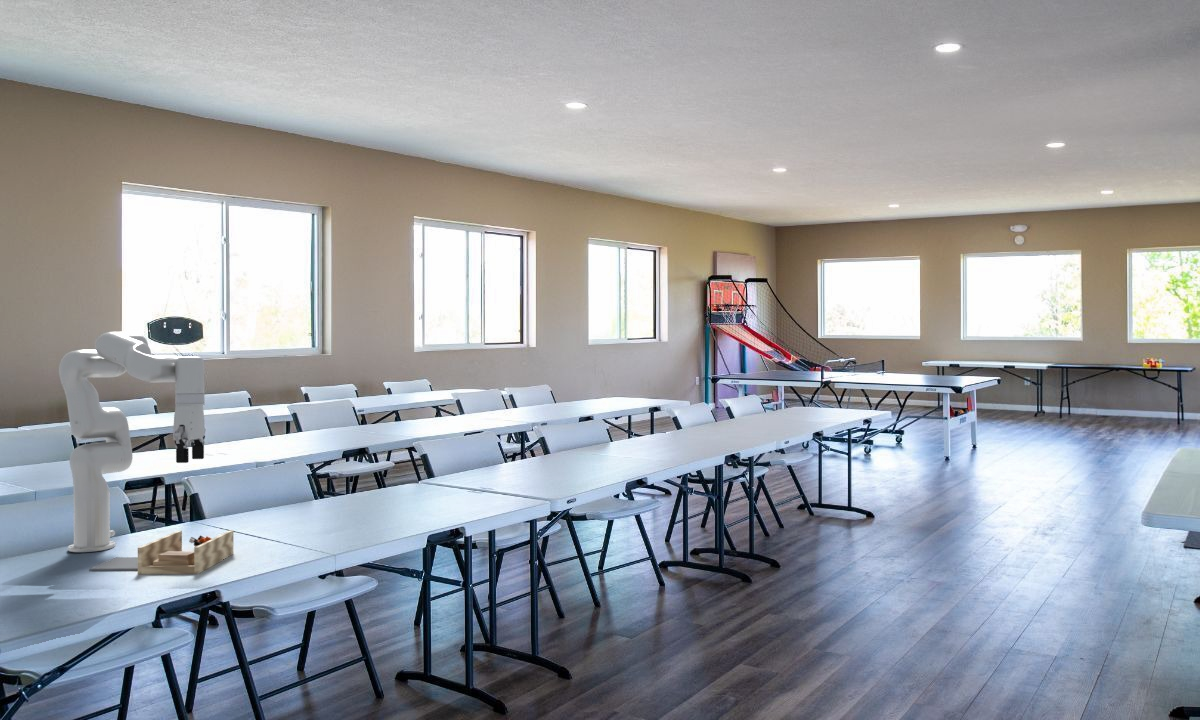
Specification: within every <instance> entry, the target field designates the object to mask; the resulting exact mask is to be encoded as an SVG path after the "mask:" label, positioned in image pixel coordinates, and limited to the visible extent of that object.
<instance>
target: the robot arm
mask: <svg viewBox="0 0 1200 720" xmlns="http://www.w3.org/2000/svg"><path fill="white" fill-rule="evenodd" d="M147 340H148V339H147V338H146V337H144V336H143V335H142V334H140V333H139V332H132V331H131V332H130V331H108V332H104V333H102V334H100V335H99V336H98V337H97V338H96V339H95V341H94V349H76V350H72V351H69V352H67V353H66V354H64V355H63V357H62V358H61V360H60V362H59V365H58V375H59V379H60V383H61V387H62V390H64V394H65V398H66V405H67V406H66V407H67V413H68V419H69V425H70V431H71V433H72V435H73V437H74V438H75V439H77V440H81V441H83V440H85V441H87V440H100V439H105V442H97V443H96V442H95V443H87V444H86V443H85V444H82V445H78V446H77V447H75V448H74V449H73V450H72V451H71V453H70V454H69V465H70V466H69V467H70V471H71V472H70V473H71V476H72V477H71V478H72V485H73V543H72V544H70V545H68V546H67V551H68V552H71V553H93V552H100V551H107V550H110V549H113V548H116V544H117V543H116V542H115V540H114V541H113V540H111V537H114V536H115V535H116V531H115V530H114V529H112V530H111V527H110V526H111V521H110V520H111V518H110V517H111V514H110V513H111V507H110V506H111V504H110V503H111V500H110V499H111V497H110V496H111V495H110V494H111V493H110V490H111V489H110V486H109V484H108V482H107V481H106V479H105V477H104V476H103V475H105V474H114V473H120V472H121V473H122V472H124V471H126V470H128V469H129V468H130V467H131V466H132V463H133V448H132V441H131V435H130V433H131V432H130V428H129V423H128V418H127V416H126V413H124V412H123V411H122V410H121V409H120V408H117V407H113V406H108V407H102V406H101V403H100V397H99V396H100V395H99V393H98V391H97V389H96V388H95V386H94V385H93V383H91V382H90V381H89V380H88V378H95V379H97V378H115V377H116V378H117V377H120V376H122V375H124V374H126V372H127V374H128V375H129V376H131V377H133V378H134V379H137V380H139V381H140V380H141V381H143V382H147V383H152V384H155V383H175V386H174V387H175V388H174V391H175V392H174V393H175V394H174V395H175V398H174V400H175V403H174V405H175V409H174V415H173V428H172V429H173V431H172V434H173V435H172V436H173V437H172V438H173V440H174V444H175V446H174V447H175V461H176V463H177V464H187V463H189V459H190V458H189V456H190V455H189V447H188V446H189V443H190V442H192V444H191V459H192V460H203V459H205V439H206V428H205V415H204V414H205V413H204V406H205V399H206V398H205V361H204V359H203V357H201V356H182V355H152V351H151V350H152V349H151V348H150V347H149V343H148V341H147Z"/></svg>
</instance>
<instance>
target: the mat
mask: <svg viewBox="0 0 1200 720" xmlns="http://www.w3.org/2000/svg"><path fill="white" fill-rule="evenodd" d="M88 571H89V572H105V571H106V572H115V571H117V572H118V571H120V572H123V571H125V572H126V571H127V572H130V571H131V572H133V571H134V572H138V556H133V557H131V556H130V557H129V556H125V557H122V556H121V557H120V556H119V557H118V556H117V557H116V556H115V557H113V558H111V559H109V560H107V561H104V562H102V563H100V564H99V563H98V564H97V565H95V566H92V567H90V568H89V569H88Z"/></svg>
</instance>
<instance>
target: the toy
mask: <svg viewBox="0 0 1200 720" xmlns="http://www.w3.org/2000/svg"><path fill="white" fill-rule="evenodd" d="M211 539H212V538H211V537H209V536H205V537H204V536H202V535H199V536H198V537H197V538H195V537H193V536H191V537H190V539H189V540H188V542H189V543H191V544H193V546H194V547H196V546H199V545H201V544H203V543H205V542H207V541H209V540H211Z"/></svg>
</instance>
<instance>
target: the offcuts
mask: <svg viewBox="0 0 1200 720" xmlns="http://www.w3.org/2000/svg"><path fill="white" fill-rule="evenodd" d="M181 565H194V551H183V550H182V551H167V552H165V553H162V554H159V559H157V560H155V561H153V566H181Z"/></svg>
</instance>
